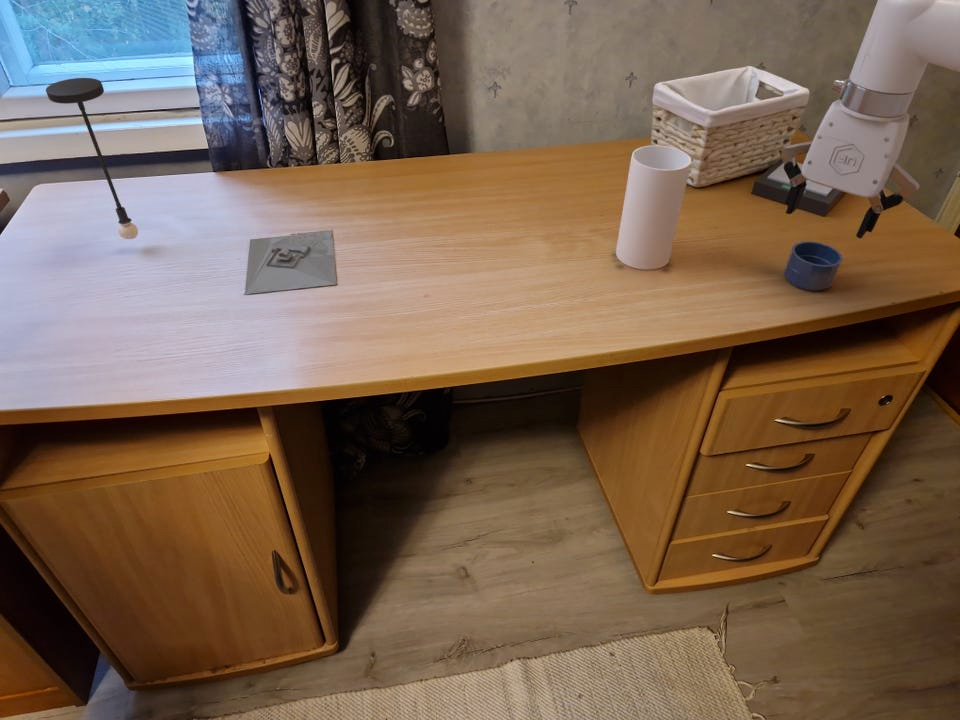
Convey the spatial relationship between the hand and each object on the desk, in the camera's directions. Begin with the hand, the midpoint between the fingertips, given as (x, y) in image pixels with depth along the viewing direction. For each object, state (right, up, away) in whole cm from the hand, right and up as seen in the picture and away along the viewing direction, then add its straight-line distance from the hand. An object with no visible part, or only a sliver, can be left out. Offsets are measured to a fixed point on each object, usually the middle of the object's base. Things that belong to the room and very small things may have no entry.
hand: (825, 222), depth 94 cm
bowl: (0, -7, +6) cm, 10 cm away
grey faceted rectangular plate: (-80, -2, +12) cm, 81 cm away
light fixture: (-102, -2, +11) cm, 102 cm away
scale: (+9, +11, +27) cm, 31 cm away
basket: (-3, +18, +36) cm, 41 cm away
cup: (-23, -3, +11) cm, 26 cm away
